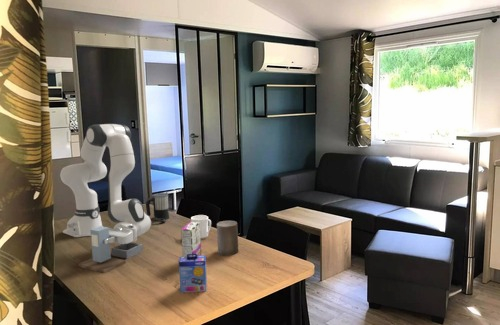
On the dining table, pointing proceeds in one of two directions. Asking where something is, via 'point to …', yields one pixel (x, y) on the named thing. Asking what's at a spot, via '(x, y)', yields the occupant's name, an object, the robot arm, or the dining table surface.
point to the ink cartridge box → (192, 273)
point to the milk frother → (159, 207)
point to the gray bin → (124, 252)
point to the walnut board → (102, 264)
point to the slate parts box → (100, 244)
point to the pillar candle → (227, 237)
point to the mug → (202, 224)
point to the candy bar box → (191, 239)
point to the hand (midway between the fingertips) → (98, 240)
